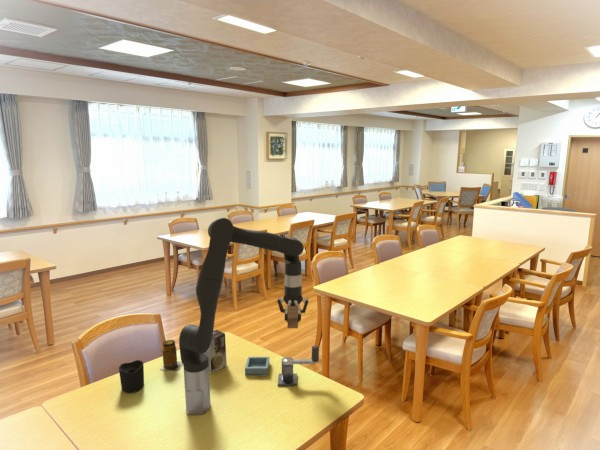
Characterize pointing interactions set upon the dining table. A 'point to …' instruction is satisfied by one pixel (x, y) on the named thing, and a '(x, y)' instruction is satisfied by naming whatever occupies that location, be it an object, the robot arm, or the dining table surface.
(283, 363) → the crank lever
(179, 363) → the condiment
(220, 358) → the coffee box
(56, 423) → the dining table surface
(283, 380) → the crank pedestal
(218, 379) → the dining table surface
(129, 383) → the pen holder
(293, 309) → the block
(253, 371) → the tray
